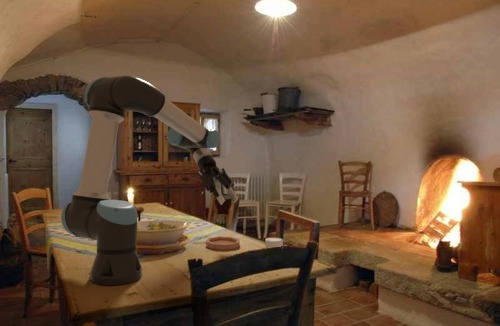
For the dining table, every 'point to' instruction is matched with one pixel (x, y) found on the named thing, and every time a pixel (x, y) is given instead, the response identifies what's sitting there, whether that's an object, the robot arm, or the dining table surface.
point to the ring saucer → (222, 243)
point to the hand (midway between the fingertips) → (229, 201)
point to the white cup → (273, 242)
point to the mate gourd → (226, 205)
